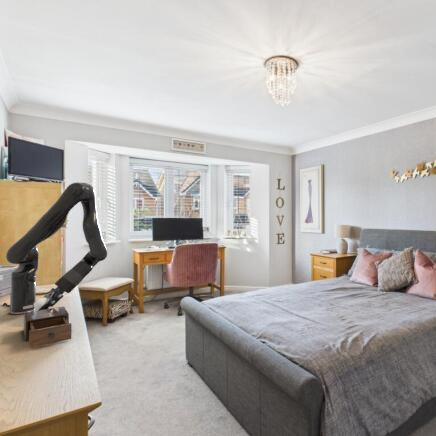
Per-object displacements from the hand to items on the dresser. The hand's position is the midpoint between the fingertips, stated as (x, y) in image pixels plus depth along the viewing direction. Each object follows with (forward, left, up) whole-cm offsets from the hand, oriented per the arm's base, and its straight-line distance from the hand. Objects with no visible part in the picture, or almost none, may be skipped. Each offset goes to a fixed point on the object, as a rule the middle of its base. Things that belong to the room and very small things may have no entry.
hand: (38, 310), depth 140 cm
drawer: (+25, -12, -4) cm, 28 cm away
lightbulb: (+1, +1, -6) cm, 6 cm away
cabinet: (+14, -6, -5) cm, 16 cm away
